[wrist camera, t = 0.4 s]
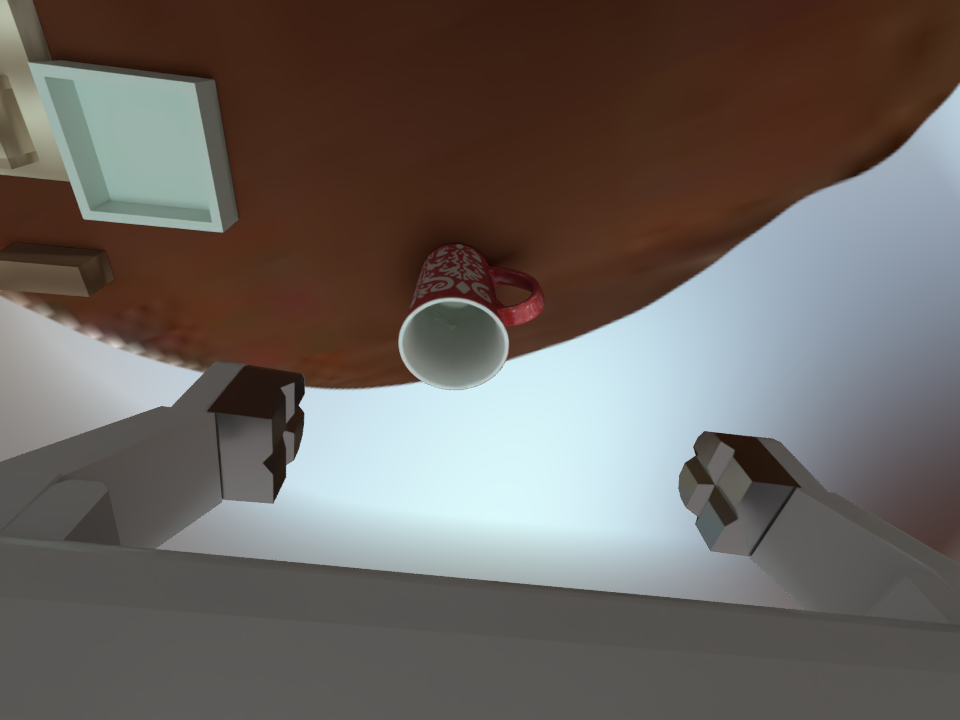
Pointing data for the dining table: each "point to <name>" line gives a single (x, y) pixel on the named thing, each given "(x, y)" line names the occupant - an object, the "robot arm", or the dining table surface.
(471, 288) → the mug
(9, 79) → the board
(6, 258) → the block
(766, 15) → the dining table surface
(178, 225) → the tray
